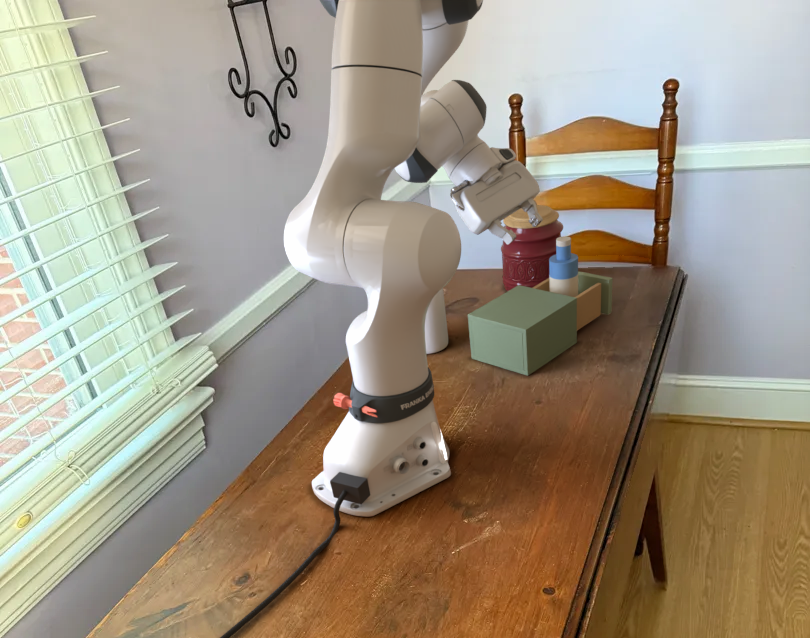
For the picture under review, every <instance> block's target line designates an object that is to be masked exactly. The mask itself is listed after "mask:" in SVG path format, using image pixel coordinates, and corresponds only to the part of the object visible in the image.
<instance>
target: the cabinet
mask: <svg viewBox="0 0 810 638" xmlns="http://www.w3.org/2000/svg"><path fill="white" fill-rule="evenodd" d="M467 322H468V333H469V344H470V355H471V360H475V361H478V362H482V363H484V364H489V365H491V366H493V367H494V366H495V367H498V368H501V369H505V370H508V371H511V372H514V373H518V374H521V375H524V376H526V377H527V376H530V375H532V374H533V373H534V372H536V371H537V370H539V369H540V368H541V367H543V366H545V365H546V364H548V363H549V362H551V361H552V360H553V359H556V358H557V357H558V356H560V355H561V354H562V353H563V352H565V351H567V350H568V349H570V348H572V347H573V346H574V345H576V344H577V343H578V339H577V337H578V330H577V298H575V297H571V296H566V295H562V294H557V293H552V292H548V291H543V290H539V289H534V288H530V287H525V286H521V285H518V286H516V287H515V288H513V289H511V290H509V291H506V292H504V293H503V294H501V295H499V296H497V297H495V298H493V299H492V300H490V301H489V302H487V303H485V304H483V305H482V306H480V307H479V308H476V309H475V310H473V311H471V312H469V313H468V314H467Z"/></svg>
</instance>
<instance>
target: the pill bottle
mask: <svg viewBox="0 0 810 638" xmlns="http://www.w3.org/2000/svg"><path fill="white" fill-rule="evenodd" d="M446 311H447V310H446V301H445V293H444V288H443V289H441V290H440V291H439V292H438V293H437V294H436V295H435V296H434V297H433V299H432V301H431V302H430V305H429V307H428V310H427V314H426V319H425V343H426V355H430V354H435V353H438V352H440V351H443V350H444V349H445V348H447V347H448V345H449V331H448V322H447V312H446Z"/></svg>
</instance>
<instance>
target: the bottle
mask: <svg viewBox="0 0 810 638" xmlns="http://www.w3.org/2000/svg"><path fill="white" fill-rule="evenodd" d="M549 271H550V275H549V285H550V292H552V293H557V294H562V295H566V296H571V297H576V296H577V295H578V271H579V256H578V254H575V253H572V238H571V237H570V236H568V235H567V236H566V235H565V236H561V237H559V238H557V239H556V255H553V256H551V257H550V259H549Z"/></svg>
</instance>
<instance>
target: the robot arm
mask: <svg viewBox="0 0 810 638" xmlns="http://www.w3.org/2000/svg"><path fill="white" fill-rule="evenodd" d="M319 2H320V4H321V5H322V7H323V8H324V9H325V11H326V12H327V13H328V14H329V16H331V17H332V18H334V28H333V36H332V47H331V48H332V49H331V68H330V69H331V71H330V98H329V99H330V100H329V116H328V117H329V118H328V119H329V120H328V131H327V133H328V134H327V140H326V147H325V151H324V154H323V158H322V162H321V165H320V167H319V169H318V173H317V175H316V177H315V179H314V182H313V184H312V186H311V187H310V189H309V190H308V192H307V194H306V195H305V196H304V197H303V198H302V199H301V201H300V202H299V203H298V204H296V205H295V206H294V207H293V209H292V210H291V211H290V213H289V214H288V216H287V219H286V221H285V224H284V231H283V246H284V250H285V254H286V256H287V260H288V261H289V263H290V264H291V266H292V267H293V268H294V269H295V270H296V271H297V272H299V273H301V274H302V275H305V276H308V277H310V278H312V279H315V280H317V281H320V282H321V283H325V284H330V285H339V286H344V287H345V286H346V287H354V288H360V289H363V290H364V291H365V294H366V297H367V309H366V310H365V311H363V312H361V313H359V315H357V316H356V317H355V318H354V319H353V320H352V322H351V323H350V325H349V327H348V328H347V331H346V334H345V335H346V336H345V344H346V351H347V356H348V360H349V366H350V371H351V376H352V381H351V387H350V394H349V395H346V394H344V393H343V392H337V393H336V394H335V395H334V396H333V399H332V400H333V405H334V406H335V407H336V408H337V407H338V408H341V409H343V410H348V412H347V413H346V415H345V417H344V418H343V420H342V421H341V423H340V425H339V426H338V427H337V430H336V431H335V432H334V434H333V435H332V437H331V439H330V440H329V442H328V443H327V444H326V446H325V448H324V450H323V454H322V457H323V458H322V466H323V470H322V471H321V472H320V473H319V474H317V476H315V478H313V479H312V481H311V488H312V491H313V494H314V495H315V496H316V497H317V499H319V500H320V501H321V502H323V503H324V504H325V505H327V506H329V507H330V508H333V516H334V524H333V527H332V529H331V532H330V534H329V536H328V537H327V538H326V539H325V540H324V541H323V542H321V544H319V546H317V547H316V548H315V549H314V550H313V551H312V552H311V553H310V555H309V556H308V557H307V558H306V559H305V560H304V561H303V562H302V563H301V565H300V566H299V567H298V568H297V569H296V570H295V571H294V572H293V573H291V575H290V576H289V577H288V578H287V579H285V581H284V582H282V583H281V584H280V585H279V586H278V587H277V588H276V589H275V590H274V591H273V592H272V593H271V594H270V595H269V596H268V597H266V598H265V599H264V600H263V601H262V602H261V603H259V604H258V605H257V606H256V607H255V608H253V609H252V610H251V611H250V612H248V614H247V615H245V616H244V617H243V618H242V619H241V620H239V621H238V622H237V623H235V624H234V625H233V626H232V627H231V628H229V630H227V631H226V632H225V633H223V635H221V636H220V637H219V638H231V637H232V636H233V635H234V634H236V633H237V632H238V631H240V630H241V628H243V627H244V626H245V625H246V624H247V623H249V622H250V621H251V620H252V619H253V618H255V617H256V616H257V615H258V614H259V613H261V612H262V611H263V610H264V609H265V608H267V606H268V605H270V604H271V603H272V602H273V601H274V600H275V599H276V598H277V597H278V596H279V595H280V594H282V593H283V592H284V591H285V590H286V589H287V588H288V587H289V586H290V585H291V584H292V583H293V582H294V581H295V580H296V579H297V578H298V577H299V576H300V575H301V574H302V573H303V572H304V571H305V570H306V569H307V567H309V565H310V564H311V563H312V562H313V561H314V559H315V558H316V557H318V555H319V554H320V553H321V552H322V551H323V550H324V549H326V547H327V546H328V545H329V544H330V542H331V540H332V538H333V537H334V536H335V534H336V533H337V532H338V530H339V529H340V526H341V525H340V524H341V515H340V512H342V513H345V514H347V515H351V516H355V517H366V518H367V517H374V516H377V515H378V514H380V513H382V512H384V511H387V510H388V509H390V508H392V507H394V506H397V504H400V503H401V502H404V501H405V500H408V499H409V498H411V497H413V496H416V495H417V494H419V493H420V492H423V491H425V490H427V489H429V488H430V487H433V486H435V485H436V484H438V483H440V482H442V481H444V480H446V479H448V478H450V477H451V475H452V472H451V469H450V468H451V467H450V465H449V459H450V448H449V445H448V444H447V442H446V440H445V437H444V436H443V435H444V434H443V433H442V430H441V427H440V423H439V419H438V415H437V412H436V408H435V404H434V397H435V385H434V380H433V374H432V371H431V368H429V365H428V356H427V355H428V354H426V343H425V319H426V314H427V310H428V307H429V305H430V302H431V301H432V299H433V297H434V296H435V295H436V294H437V293H438V292H439V291H440V290H441V289H443V290H444V288H445V287H447V286H448V284H449V283H450V282H451V281H452V279H453V277H454V276H455V274H456V272H457V270H458V268H459V265H460V262H461V257H462V241H461V240H462V239H461V235H460V231H459V228H458V226H457V224H456V222H455V220H454V219H453V217H452V215H450V214H449V213H448V212H446V211H444V210H441V209H438V208H435V207H434V206H433V207H432V206H430V205H427V204H423V203H420V202H416V201H407V200H406V201H405V200H391V199H382V195H383V191H384V188H385V185H386V183H387V181H388V179H389V177H390V175H391V173H392V172H394V171H395V172H396V174H397V175H398V176H399V177H400V178H401V179H402V180H403V181H405V182H408V183H414V184H425V183H428V182H429V181H430V180H431V178H433V177H434V176H435V175H436V174H437V173H438V170H440V169H441V168H443V170H444V171H445V173H446V176H447V177H448V179H449V180H450V181H451V183H452V184H453V185H454V186H453V187H452V188H451V189H450V194H449V195H450V201H451V202H452V203H453V205H454V208H455V211H456V212H457V214H458V216H459V217H460V219H461V220H462V222H463V223H464V225H465V226H466V227H467V228H468V231H470V232H471V233H473V234H475V235H476V236H478V235H481V234H482V233H484V232H485V231H487V230H488V231H489V232H490V233H491V234H492V235H494V236H496V237H498V238H499V239H501V240H502V242H503V241H504V242H505V243H506V244H507V245H509V244H510V243H512V242H513V241H514V240H515V239H516V235H515V234H514V232H513V231H512V230H507V229H506V228H505V227H504V226H503V225H502V224H503V222H502V221H503V219H505V218H506V217H508V216H509V215H511V214H513V213H514V212H516V211H517V210H519V209H521V208H522V209H523V211H524V212H526V211H527V213H528V216H529V218H530V219H529V223H530V224H532V226H533V227H536V226H537V225H539V224H540V223H541V222H542V220H543V219H542V217H541V216H540V214H539V213H538V211H537V207H536V204H535V202H534V201H533V200H535V198H536V197H537V196H538V195H539V194H540V191H541V190H540V189H541V188H540V185H539V183H538V182H537V180H536V179H535V177H534V176H533V175H532V173H531V172H530V170H528V169H527V167H526V166H525V165H524V163H522V162H521V161H519V160H516V158H517V154H516V152H515V151H514V150H513V149H512V148H510V147H507V148H506V147H505V148H504V147H503V148H500V147H493V146H492V147H490V146H489V145H488V144H487V143H486V141H485V140H483V139H481V138H480V136H479V135H478V134H479V133H480V132H481V130H482V129H484V126H485V124H486V120H487V119H486V118H487V103H486V102H485V100H484V98H483V97H482V96H481V94H480V92H478V90H477V89H476V88H475V87H474V85H472V84H471V83H470V82H468V81H465V80H461V79H452V80H450V81H449V82H447V83H446V84H445V83H444V85H443V86H441V88H440V89H438V90H437V89H432V90H429V91H427V92H425V91H426V89H427V88H428V86H429V85H430V83H431V82H432V80H434V78H435V77H436V76H437V74H438V73H439V72H440V71H441V70H442V68H443V67H444V66H445V64H446V63H447V62H449V60H450V59H451V58H452V56H453V55H454V54H455V53H456V51H458V49H459V48H460V46H461V44H462V43H463V41H464V39H465V37H466V33H467V30H468V26H469V21H470V20H473V18H474V17H475V16H476V15H477V13H478V12H479V11H480V10H481V9H482V6H483V2H484V0H319Z"/></svg>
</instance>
